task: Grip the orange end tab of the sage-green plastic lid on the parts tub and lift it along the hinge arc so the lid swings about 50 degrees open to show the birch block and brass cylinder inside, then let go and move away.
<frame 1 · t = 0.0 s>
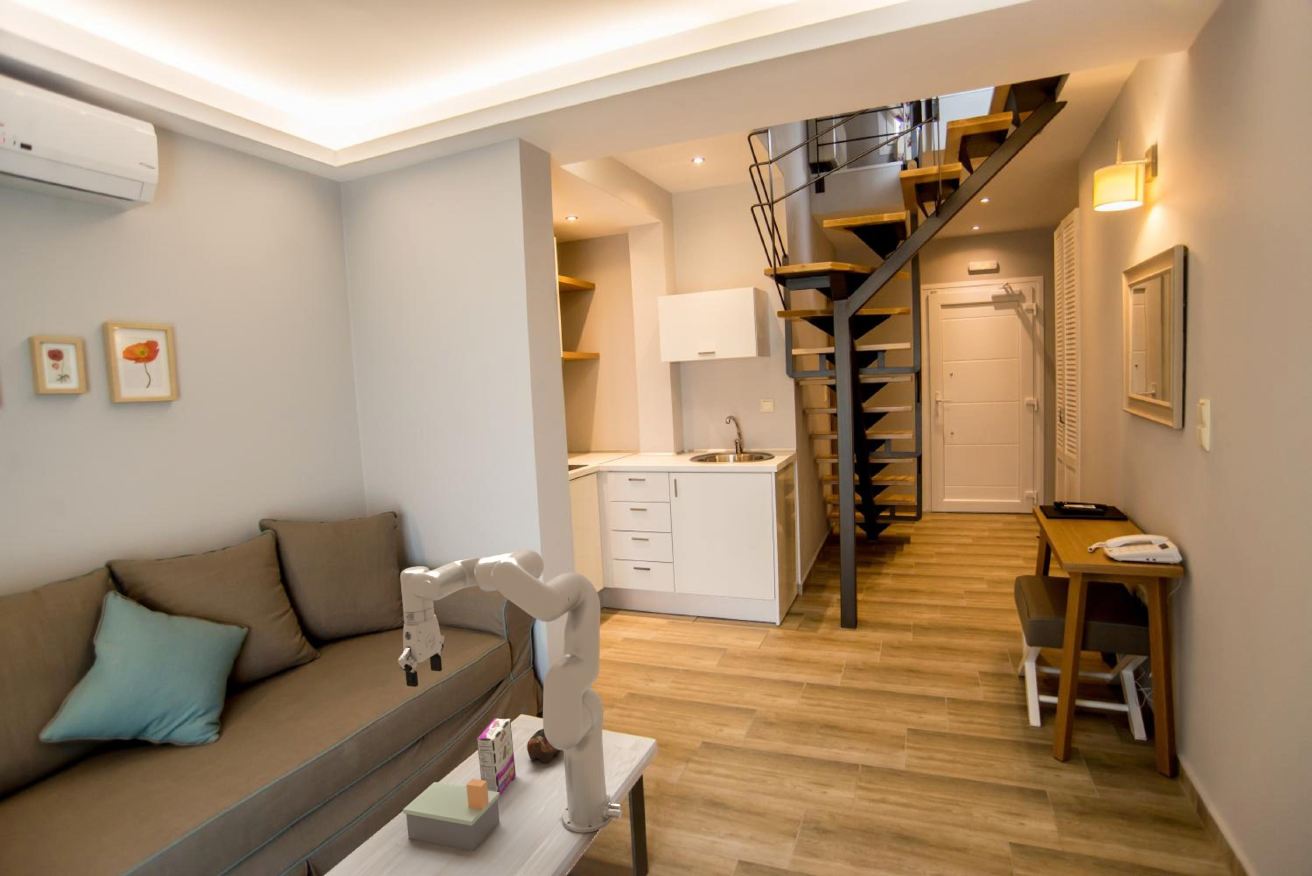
hand: (424, 678, 181), 31 cm above the table, tool pointing down, fingers open, 9 cm apart
candy bar box: (499, 788, 184), on the table
lid: (451, 791, 165), point 10 cm above the table, hinge at 0.0°
parts tub: (454, 833, 165), on the table
brass cylinder: (436, 831, 165), point 1 cm above the table, touching parts tub
birch block: (470, 826, 166), point 1 cm above the table, touching parts tub
decorative turtle: (546, 757, 198), on the table
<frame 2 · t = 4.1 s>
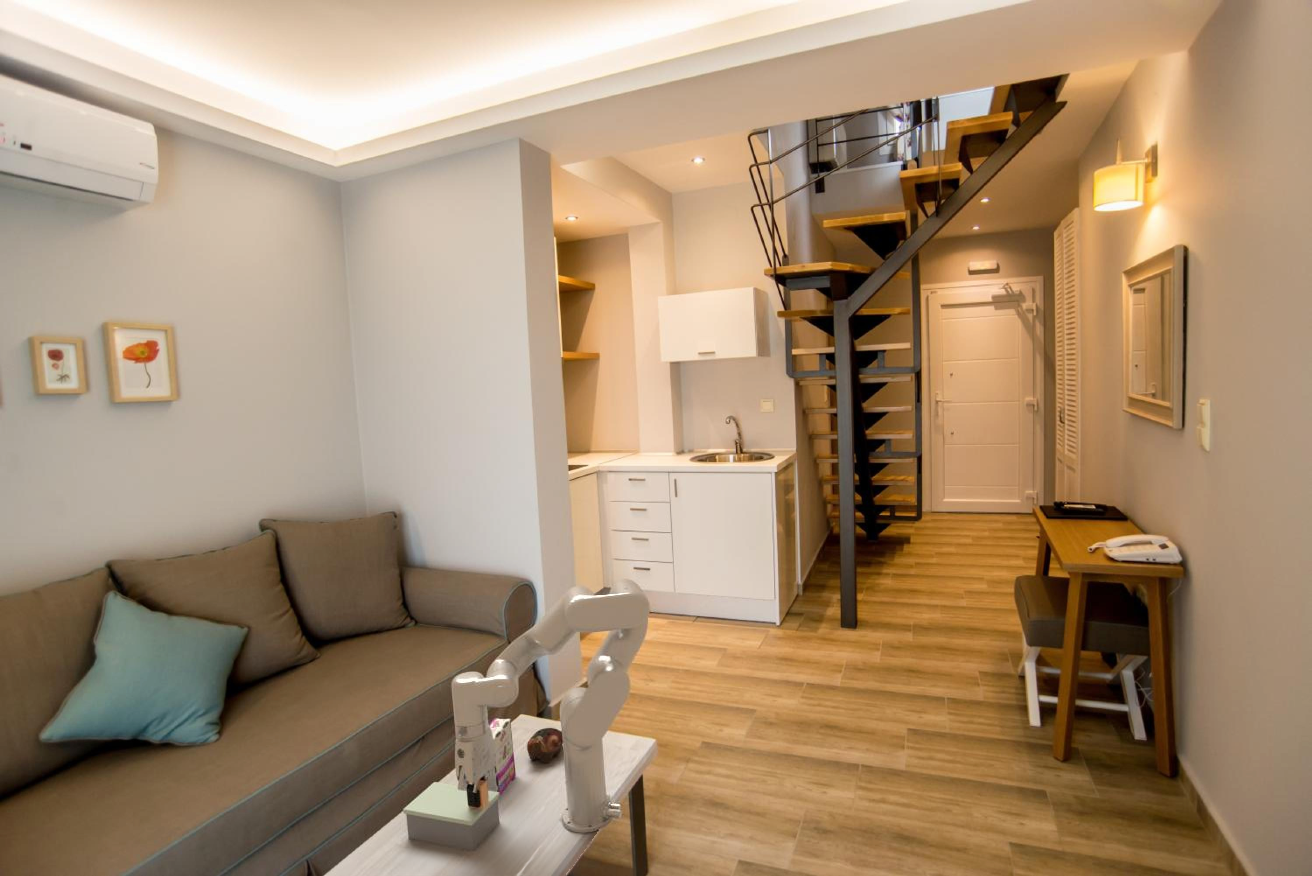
hand: (478, 801, 162), 9 cm above the table, tool pointing down, fingers closed on lid, 2 cm apart
lid: (451, 791, 165), point 10 cm above the table, hinge at 0.0°, touching gripper
everything else where it was.
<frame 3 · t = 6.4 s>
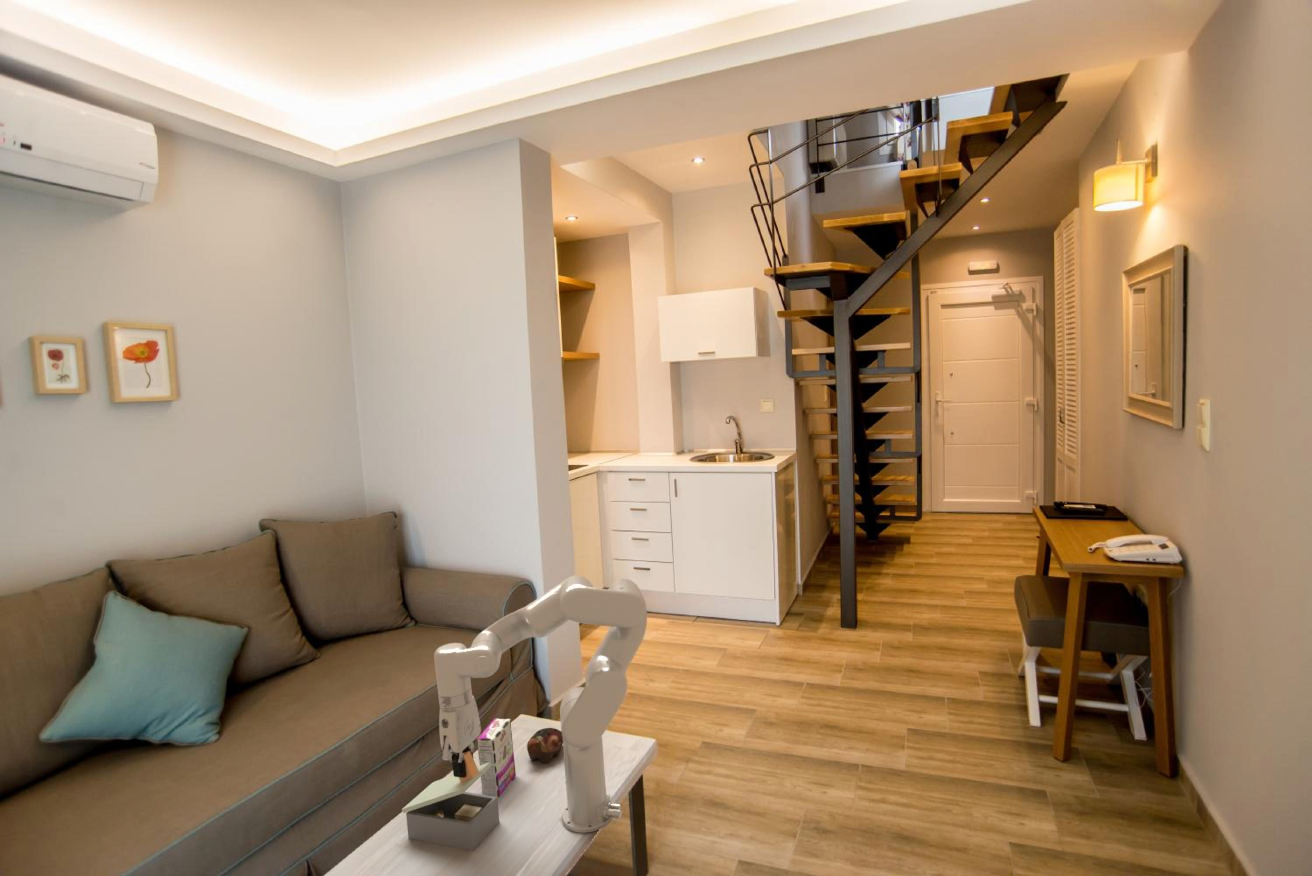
hand: (464, 772, 163), 16 cm above the table, tool pointing down, fingers closed on lid, 2 cm apart
lid: (442, 776, 165), point 14 cm above the table, hinge at 23.2°, touching gripper
everything else where it was.
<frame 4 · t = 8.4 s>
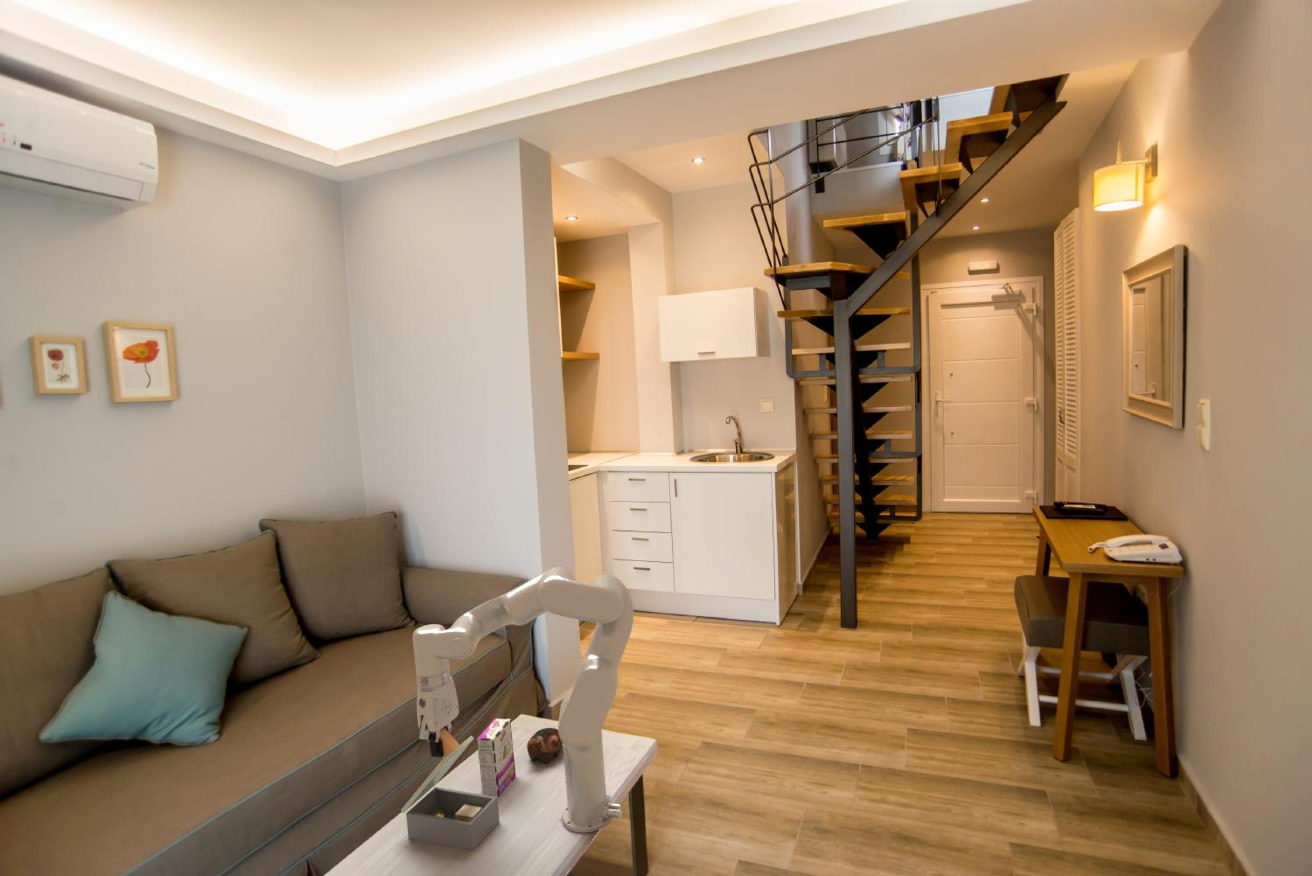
hand: (441, 752, 165), 20 cm above the table, tool pointing down, fingers closed on lid, 2 cm apart
lid: (430, 765, 166), point 16 cm above the table, hinge at 46.8°, touching gripper
everything else where it was.
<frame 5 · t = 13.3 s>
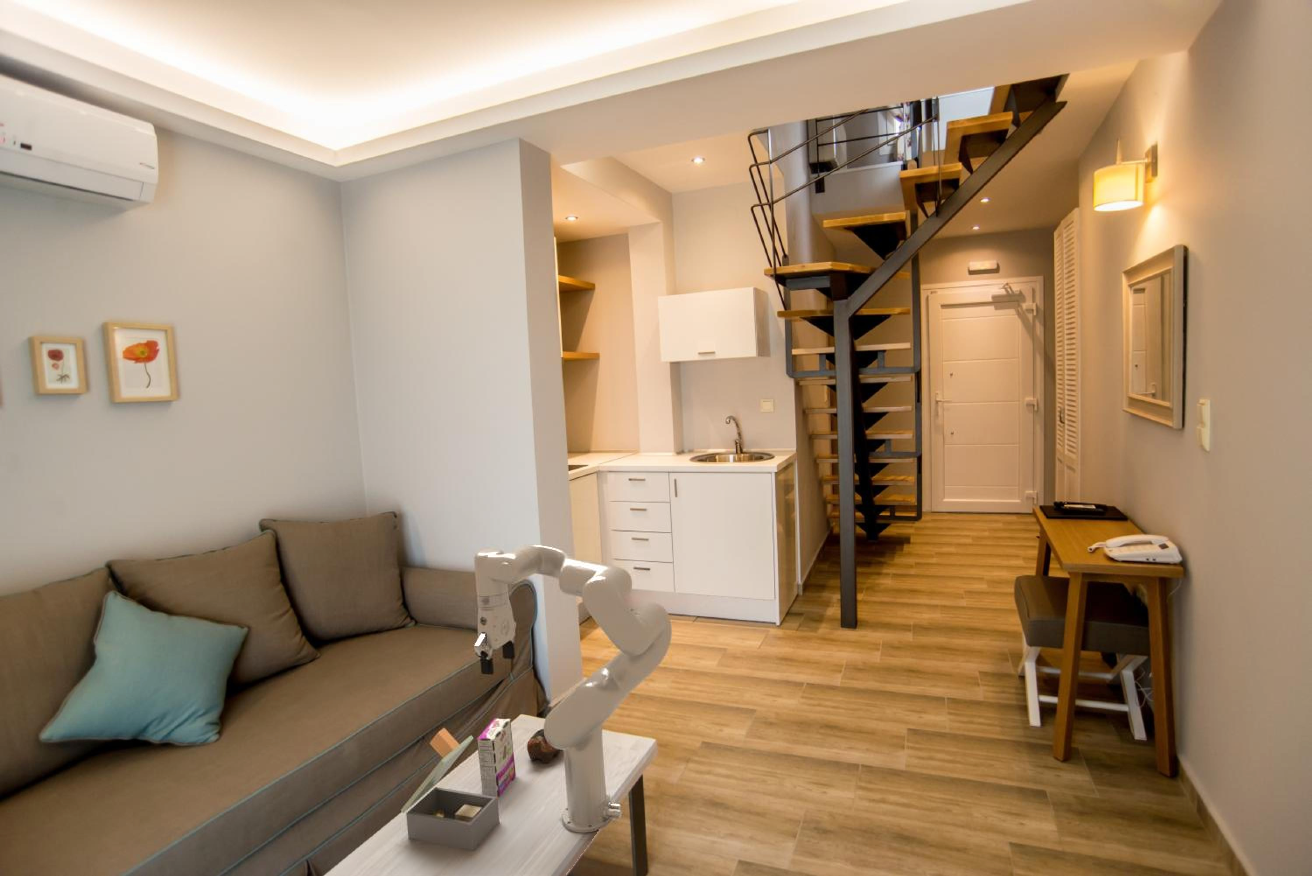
hand: (498, 665, 173), 36 cm above the table, tool pointing down, fingers open, 9 cm apart
lid: (430, 765, 166), point 16 cm above the table, hinge at 47.1°
everything else where it was.
at the end: lid at +47° (first picture: +0°); the gripper is holding nothing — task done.
